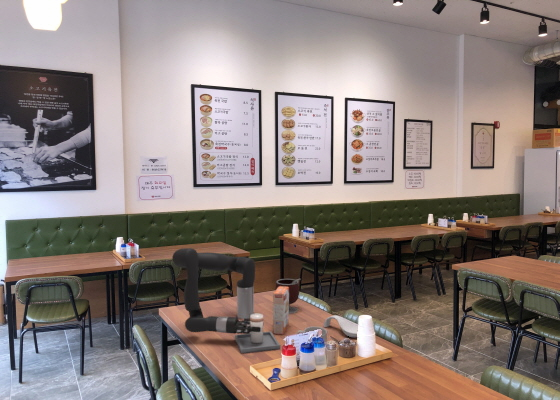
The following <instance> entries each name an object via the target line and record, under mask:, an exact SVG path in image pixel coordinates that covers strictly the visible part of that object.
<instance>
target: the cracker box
mask: <svg viewBox="0 0 560 400" xmlns="http://www.w3.org/2000/svg"><path fill="white" fill-rule="evenodd" d="M272 299H273V300H272V301H273V302H272V303H273V304H272V305H273V307H272V308H273V309H272V311H273V312H272V334H273V335H284V334H285V333H286V331H287V329H288V327H289V323H290V322H289V316H290V314H289V287H282V286H279V287H278V288H277V289H276V291H274V292H273V297H272Z"/></svg>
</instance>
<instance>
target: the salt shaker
mask: <svg viewBox="0 0 560 400" xmlns="http://www.w3.org/2000/svg"><path fill="white" fill-rule="evenodd" d="M249 319H250V326H252V327H260V328H261V331H260V332H250V341H251V342H253V343H260V342H262V341H263V332H264V326H263V323H264V314H263V313H256V312H254V314H251V315H250V318H249Z"/></svg>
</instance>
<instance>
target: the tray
mask: <svg viewBox="0 0 560 400" xmlns="http://www.w3.org/2000/svg"><path fill="white" fill-rule="evenodd" d="M234 340H235V342H236V345H237V347H238V349H239V351H240V354H242V355H243V354H251V353H261V352H268V351H279V350H281V344H280V342H279V341H278V339H277V338H276V337H275V334H273V331H271V330H269V331H263V341H262V342H260V343H253V342H251V341H250V334H238V333H237V334H234Z"/></svg>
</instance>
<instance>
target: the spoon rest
mask: <svg viewBox="0 0 560 400" xmlns="http://www.w3.org/2000/svg"><path fill="white" fill-rule="evenodd" d="M333 319H335V320H336V321H337V323H338V326H339V327H340V329H341V330H342V332H343V334H344V335H345V336H347V337H348V336H349V337H348V338H352V339H353V338H358V337H357V330H358V325H359V324H358V323H355V322H353V321H351V320H349V319H347V318H345V317H342V316H340V315H331V316H328V317H327V318H325V320H324V322H323V328H328V327H330V326H331V320H333Z"/></svg>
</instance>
